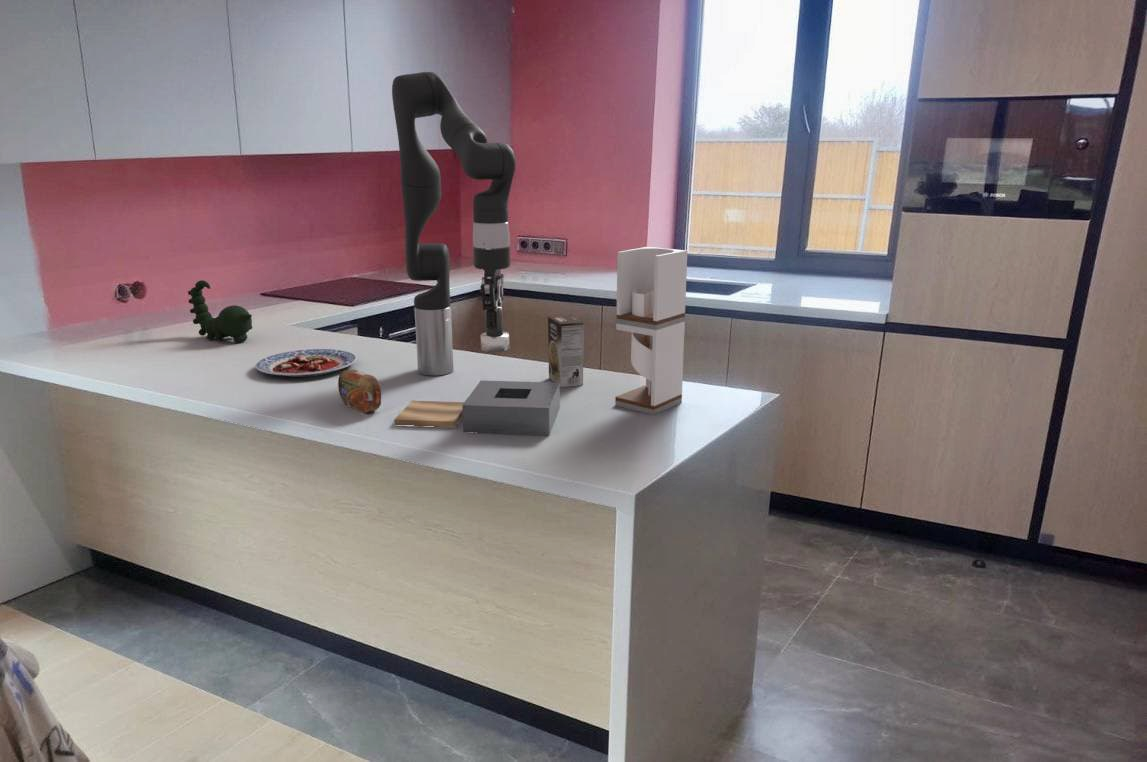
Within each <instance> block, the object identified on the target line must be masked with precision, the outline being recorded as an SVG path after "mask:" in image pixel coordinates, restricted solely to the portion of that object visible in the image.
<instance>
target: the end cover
mask: <svg viewBox="0 0 1147 762" xmlns="http://www.w3.org/2000/svg"><path fill="white" fill-rule="evenodd" d="M497 307H498V310H497V321H498V327H497V328H496V329H488V328H487V322H486V321H485V332H483V333H481V334H480V349H481V351H482V352H486V353H499V352H501V353H502V352H505V351H508V350H509V349H510V348H511V347H510V334H509V332H507V331H504V319H503V306H502V305H501V306H500V305H497ZM484 315H485V317H484V318H485V320H486V311H485V310H484Z"/></svg>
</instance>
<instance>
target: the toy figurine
mask: <svg viewBox="0 0 1147 762" xmlns="http://www.w3.org/2000/svg"><path fill="white" fill-rule="evenodd" d="M205 288H207V289H211V285H210V284H209V283H208V282H207V281H206V280H202V279H201V280H198V281H196V283H195V284H194V287H191V289H190V290H189V291H187V295H188V296H190V297H191V298H189V299H188V303H189V304H191V305H192V306H193V307H192V308H190V309H189V312H190V314H195V318H194V319H192V323H193V324H194V325H198V324H199V326H200V329H199V330H198V335H200V336H205V335H206V339H207V340H208V341H212V339H213V340H214V338H215V340H216V341H219V342H220V341H223V340H224V339H225V338H228V337H230V338H232V340H233V341H234V342H235V343H236V344H241V342H242V343H244V342H246V341H247V339H248V335H247V334H248V332H249V331H250V330H252V329H253V324H252V323H253V320H252V317H253V316H252V314H250V313H249V311H248V310H247V309H245V308H244V307H242V306H239V305H229V306H225V308H223V309H222V310H221V311H219V314H218V315H217V316H216V317H214V316H212V313H211V312H210V311H209V306H208V304H206V297H205V296H204V295H203V289H205Z"/></svg>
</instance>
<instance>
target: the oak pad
mask: <svg viewBox="0 0 1147 762" xmlns="http://www.w3.org/2000/svg"><path fill="white" fill-rule="evenodd" d="M464 402H465V401H463V402H462V401H437V400H436V401H435V400H433V401H432V400H411V401H410V402H409V403H408V404H407V406H406V407H404V408H403V410H401V412H399V414H398V415H397V416H396V417H395V418H394V420H393V422H394V426H395V425H414V426H434V427H433V428H435V427H452V428H451V429H455V428H456V427H457V425H458V424H459V423H460V421H461V420H462V419H463V410H462V405H463V404H464ZM460 419H461V420H460ZM458 422H459V423H458ZM457 423H458V424H457ZM455 426H456V427H455ZM453 427H454V428H453Z"/></svg>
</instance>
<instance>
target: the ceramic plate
mask: <svg viewBox="0 0 1147 762" xmlns="http://www.w3.org/2000/svg"><path fill="white" fill-rule="evenodd" d="M357 360H358V357H357V354H355V353H352V352H349V351H347V350H342V349H333V348H332V349H331V348H313V349H309V348H308V349H299V350H292V351H285V352H281V353H277V354H273V355H269V356H266V357H265V358H262V359H260V360H258V361H257V363H255V369H256V370H258V371H259V372H261V373H264V374H267V375H273V376H274V375H275V376H281V375H282V377H287V376H290V378H305V376H308V377H316V376H315V375H317V376H321V374H322V375H326V374H325V373H327V374H330V373H333V372H335V371H339V370H341V369H345V368H347V367H350V366H352V365H353V364H355V363H356V361H357ZM332 371H333V372H332ZM329 372H330V373H329Z"/></svg>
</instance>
